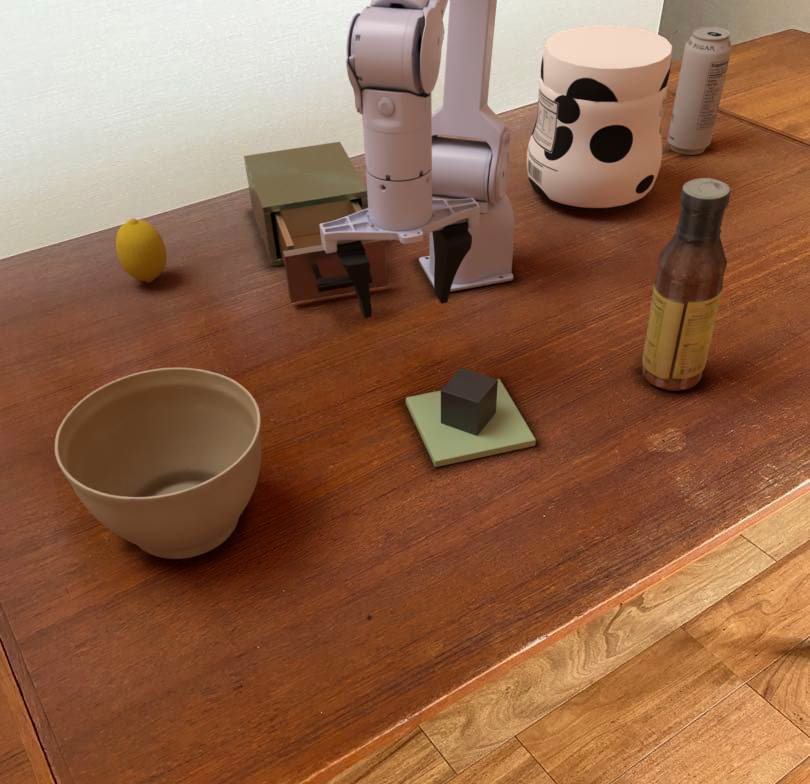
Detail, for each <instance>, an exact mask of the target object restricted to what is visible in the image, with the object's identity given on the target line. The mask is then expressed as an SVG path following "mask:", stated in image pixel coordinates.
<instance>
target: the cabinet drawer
mask: <svg viewBox="0 0 810 784" xmlns="http://www.w3.org/2000/svg"><path fill="white" fill-rule="evenodd" d="M361 210H362V209H361V207H360V205H359V203H358V201H357V200H356V199H352V200H346V201H340V202H334V203H327V204H321V205H315V206H309V207H303V208H296V209H290V210H284V211H278V212H272V218H273V224H274V231H275V237H276V243H277V246H278V249H279V252H280V254H281V257H282V260H283V262H284V265H283V266H284V270H285V276H286V277H285V278H286V282H287V283H286V284H287V289H288V290H287V291H288V296H289V300H290V302H291V303H297V302H303V301H308V300H309V301H310V300H314V299H315V300H316V299H320V298H327V297H331V296H337V295H343V294H348V293H354V292H356V290H355V288H354V285H353V282H352V280H351V278H350V276H349V275H348V273H347V272H346V270H345V268H344V267H343V265H342V263H341V261H340V259H339V257H338V255H337V253H336V252H334V253H328V254H327V253H326V252H325V250H324V248H323V245H322V243H321V234H320V224H321V223H326V222H330V221H334V220H337V219H340V218H343V217H345V216H348V215H351V214H353V213H356V212H359V211H361ZM362 245H363V247H364V249H365V255H366V257H367V259H368V260H369V262H370V272H369V290H370V289H376V288H382V287H386V286H388V268H387V249H386V247H387V246H386V240H380V241H375V242H369V243H363V244H362Z"/></svg>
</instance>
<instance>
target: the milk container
mask: <svg viewBox="0 0 810 784" xmlns="http://www.w3.org/2000/svg"><path fill="white" fill-rule="evenodd" d="M672 58H673V45H672V44H671V43H670V42H669V40H668V39H667V38H666V37H664V36H662V35H659V34H658V33H656V32H654V31H650V30H646V29H642V28H638V27H634V26H625V25H617V24H592V25H584V26H576V27H572V28H568V29H565V30H562V31H558V32H556V33H555V34H553V35H551V36H550V37H549V38H547V41H546V43H545V45H544V48H543V52H542V57H541V62H540V78H539V81H538V82H539V84H538V100H537V101H538V102H537V113H536V119H535V122H534V125H533V129H532V132H531V134H530V137H529V141H528V144H527V149H526V170H527V178H528V181H529V184H530V186H531V188H532V189H533V190H534V192H535V193H536V194H538V195H539V196H540V197H542V198H543V199H544V200H546V201H547V202H549V203H551V204H554V205H556V206H559V207H561V208H564V209H565V208H566V209H571V210H576V211H579V212H607V211H612V210H620V209H623V208H626V207H628V206H630V205H633V204H636V203H637V202H639V201H641V200H642V199H644V198H645V197H646V196H647V195H648V194H649V193H650V192H651V190H652V188H654V185H655V182H656V181H657V177H658V175H659V172H660V169H661V165H662V160H663V141H662V118H663V112H664V107H665V103H666V99H667V95H668V89H669V80H670V79H669V78H670V73H671V68H672V60H673V59H672Z"/></svg>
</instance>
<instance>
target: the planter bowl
mask: <svg viewBox="0 0 810 784" xmlns="http://www.w3.org/2000/svg"><path fill="white" fill-rule="evenodd" d="M55 434H56V435H55V439H54V455H55V459H56V461H57V464H58V466H59V469H60V470H61V472H62V473H63V475H64V477H65V478H66V480H67V481H68V482H69V483H70V485H71V487H72V489H73V491H74V492H75V494H76V496H77V497H78V499H79V500H80V502H81V504H83V505H84V507H85V508H86V510H88V512H89V513H90V514H91V515H92V516H93V517H94V518H95V519H96V520H97V521H98V522H99V523H101V524H102V525H103V526H104V527H105V528H106V529H108V530H109V531H111V532H112V533H114V534H115V535H117V536H119V537H120V538H122V539H124V540H125V541H128V542H129V543H132V544H134V545H137V546H138V547H139V548H140V549H141V550H143V551H144V552H145V553H147V554H149V555H152V556H155V557H156V558H162V559H168V560H181V559H190V558H194V557H197V556H200V555H203V554H206V553H208V552H210V551H213V550H214V549H216V548H217V547H219V546H220V545H222V544H223V543H224V542H225V541H227V539H228V538H229V537H230V536H231V534H233V532H234V531H235V529H236V528H237V525H238V522H239V519H240V516H241V515H242V514H243V512H244V510H245V509H246V507H247V505H248V504H249V502H250V500H251V498H252V496H253V494H254V491H255V488H256V486H257V483H258V479H259V477H260V470H261V469H260V468H261V465H262V439H261V434H262V417H261V411H260V408H259V405H258V403H257V401H256V399H255V398H254V396H253V395H252V393H250V391H249V390H247V389H246V388H245V387H244V386H243V385H242V384H240V383H239V382H237V381H236V380H235V379H232V378H231V377H228V376H226V375H223V374H220V373H218V372H213V371H211V370H205V369H199V368H192V367H160V368H155V369H154V368H153V369H149V370H143V371H139V372H134V373H131V374H129V375H125V376H123V377H120V378H117V379H115V380H112V381H109V382H108V383H106V384H104V385H102V386H100V387H98V388H96V389H95V390H93V391H91V392H90V393H89V394H87V395H86V396H85V397H83V398H82V399H81V400H80V401H79V402H77V404H75V406H73V407H72V409H71V410H70V411H69V412H68V413H67V414H66V415H65V417H64V418H63V420H62V422H61V423H60V424H59V427H58V429H57V432H56V433H55Z"/></svg>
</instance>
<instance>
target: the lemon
mask: <svg viewBox="0 0 810 784" xmlns="http://www.w3.org/2000/svg"><path fill="white" fill-rule="evenodd" d="M165 245H166V244H165V242H164V240H163V238H162V236H161V234H160V233H159V231H158V230H157V229H156V227H155V226H154V225H152V224H151V223H149V222H147V221H145V220H142V219H137V218H135V217H133V218H132V217H131V218H130V219H129V220H127V222H125V223H124V224H122V225H121V226H120V228H119V229H118V231H117V234H116V237H115V251H116V256H117V258H118V261H119V263H120V266H121V267H122V269H123V271H125V273H126V274H127V275H128V276H130V277H131V278H133V279H135V280H137V281H141V282H142V281H143V282H146V283H147V284H150V283H152V282H154V280H155V279H157V278H158V277H159V276H160V275H162V273H163V272H164V270H165V268H166V265H167V250H166V246H165Z"/></svg>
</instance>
